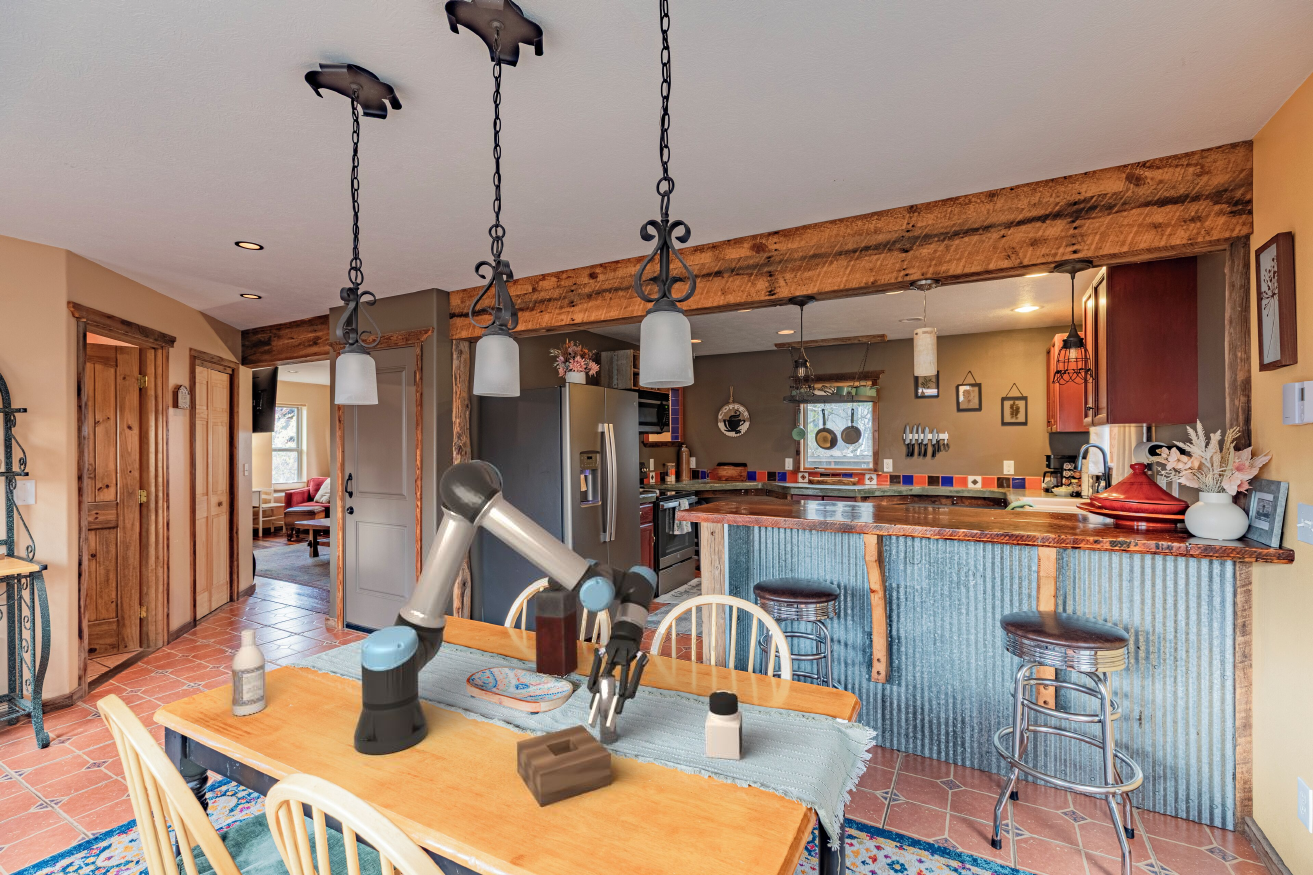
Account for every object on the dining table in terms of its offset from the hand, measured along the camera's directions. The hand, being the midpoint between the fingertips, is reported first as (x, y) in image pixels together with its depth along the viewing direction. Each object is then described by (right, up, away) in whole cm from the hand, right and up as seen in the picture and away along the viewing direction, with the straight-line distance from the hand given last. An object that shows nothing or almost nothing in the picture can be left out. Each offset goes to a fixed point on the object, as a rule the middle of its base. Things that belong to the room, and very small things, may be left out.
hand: (600, 726), depth 132 cm
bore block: (-6, -5, -11) cm, 14 cm away
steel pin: (+1, -5, +4) cm, 6 cm away
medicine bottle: (+26, -4, -2) cm, 27 cm away
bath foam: (-90, -7, +23) cm, 93 cm away
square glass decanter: (-16, -5, +47) cm, 50 cm away
